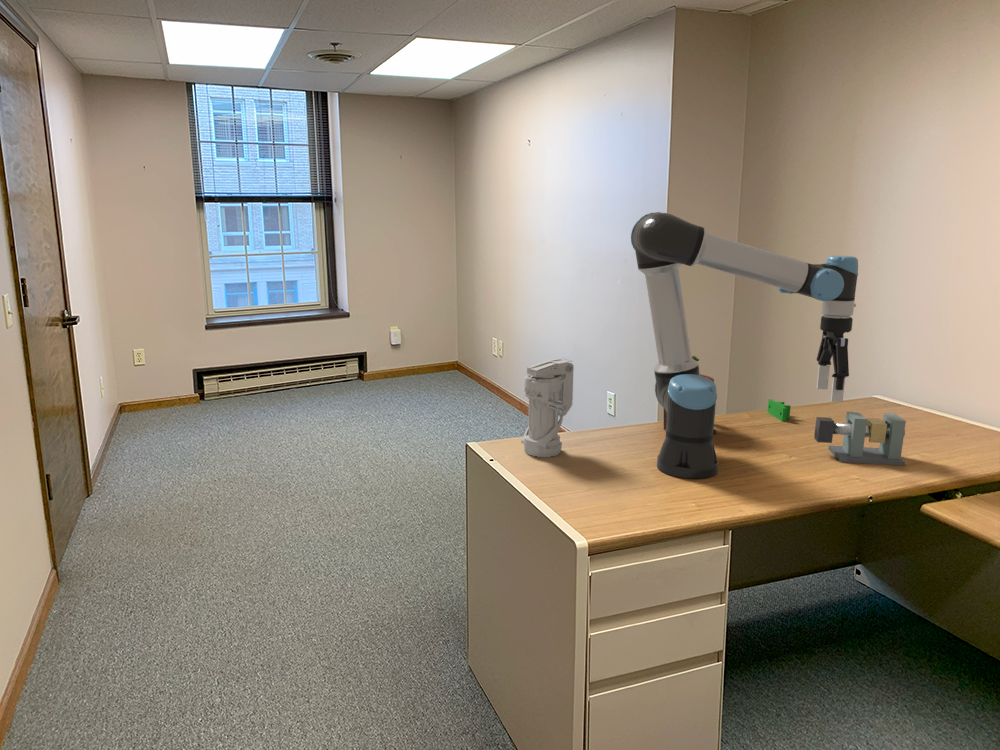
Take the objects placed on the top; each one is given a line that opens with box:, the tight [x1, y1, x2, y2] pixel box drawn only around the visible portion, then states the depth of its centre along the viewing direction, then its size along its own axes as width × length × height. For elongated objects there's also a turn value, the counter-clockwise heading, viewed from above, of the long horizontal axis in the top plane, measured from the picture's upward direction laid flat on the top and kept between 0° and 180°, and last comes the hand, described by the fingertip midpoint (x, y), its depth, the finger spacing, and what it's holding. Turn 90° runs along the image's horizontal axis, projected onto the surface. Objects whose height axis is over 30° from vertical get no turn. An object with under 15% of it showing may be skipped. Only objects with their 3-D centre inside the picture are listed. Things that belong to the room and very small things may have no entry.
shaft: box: [813, 416, 906, 444], centre depth 194 cm, size 22×4×6 cm, turn 81°
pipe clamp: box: [766, 398, 791, 423], centre depth 233 cm, size 11×4×5 cm, turn 3°
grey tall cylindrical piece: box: [520, 357, 574, 458], centre depth 195 cm, size 13×10×25 cm
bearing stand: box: [828, 411, 907, 466], centre depth 194 cm, size 16×11×12 cm
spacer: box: [865, 417, 887, 444], centre depth 193 cm, size 4×6×5 cm, turn 171°
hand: (829, 395), depth 193 cm, fingers open, 13 cm apart
